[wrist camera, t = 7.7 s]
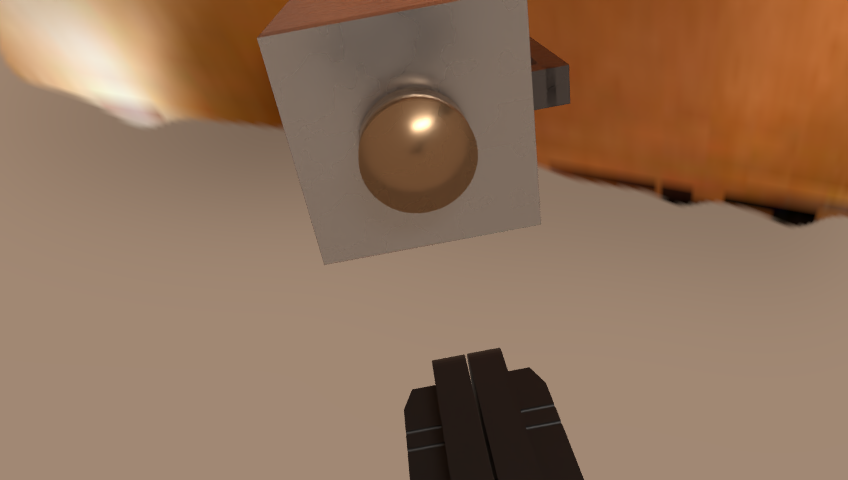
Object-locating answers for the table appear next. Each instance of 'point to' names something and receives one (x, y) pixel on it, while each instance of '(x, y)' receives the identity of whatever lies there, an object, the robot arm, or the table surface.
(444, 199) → the brass disc knob
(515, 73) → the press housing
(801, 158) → the table surface
